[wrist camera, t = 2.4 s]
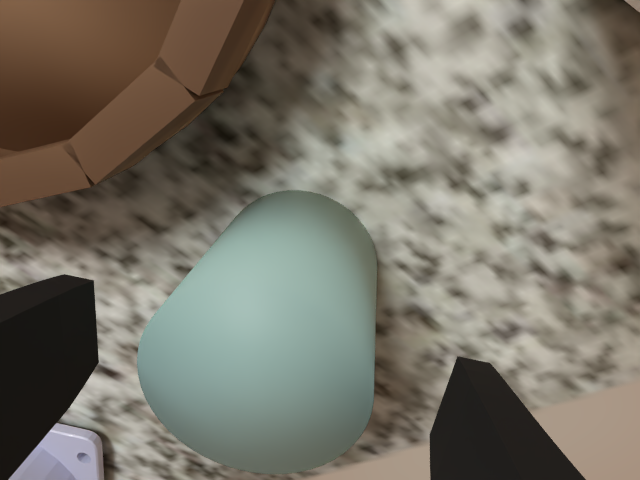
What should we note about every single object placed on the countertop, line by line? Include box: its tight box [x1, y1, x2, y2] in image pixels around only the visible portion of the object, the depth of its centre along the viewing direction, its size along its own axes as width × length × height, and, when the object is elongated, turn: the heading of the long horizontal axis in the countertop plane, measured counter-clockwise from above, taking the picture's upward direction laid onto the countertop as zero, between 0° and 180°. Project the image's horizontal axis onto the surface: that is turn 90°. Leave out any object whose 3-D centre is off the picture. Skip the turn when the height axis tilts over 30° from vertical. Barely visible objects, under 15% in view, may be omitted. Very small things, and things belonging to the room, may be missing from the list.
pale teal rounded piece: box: [137, 191, 377, 474], centre depth 11 cm, size 4×4×5 cm
